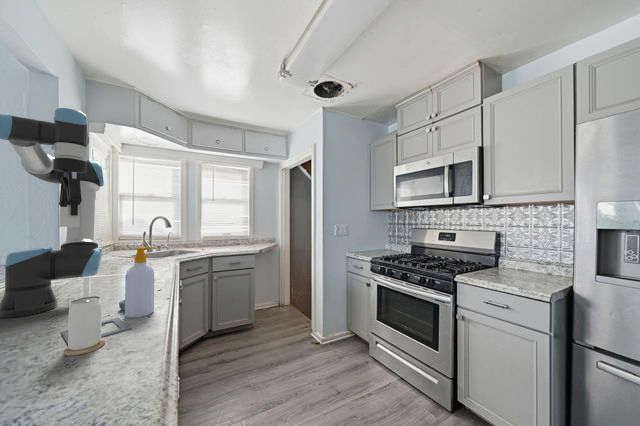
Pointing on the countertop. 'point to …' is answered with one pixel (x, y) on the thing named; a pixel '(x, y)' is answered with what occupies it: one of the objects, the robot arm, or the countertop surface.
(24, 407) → the countertop surface
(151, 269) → the soap bottle
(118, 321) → the frame
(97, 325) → the can
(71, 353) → the coaster
